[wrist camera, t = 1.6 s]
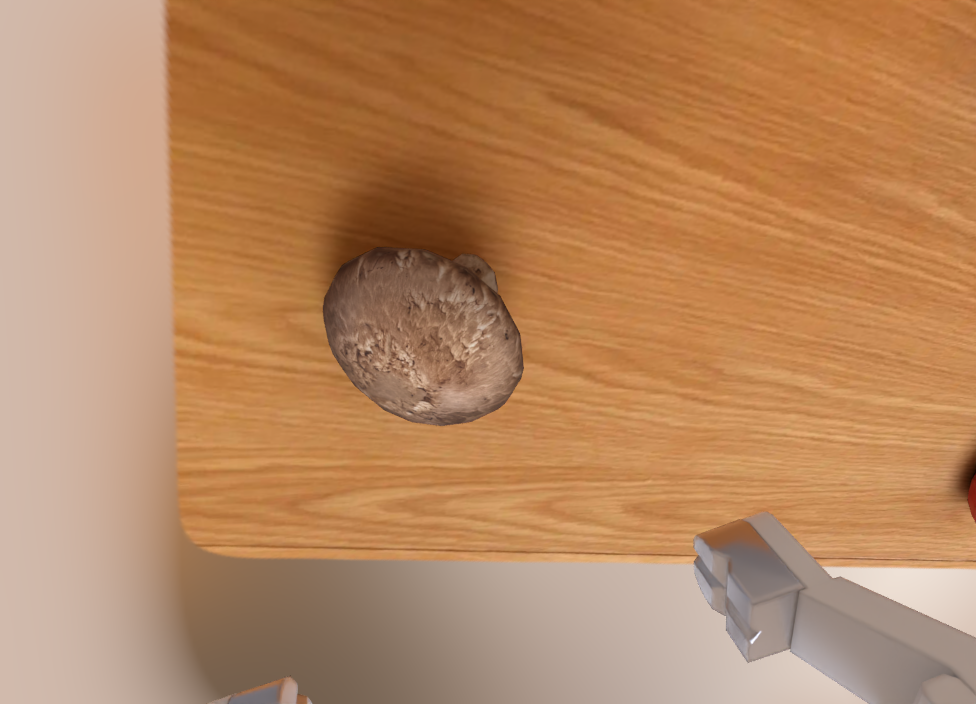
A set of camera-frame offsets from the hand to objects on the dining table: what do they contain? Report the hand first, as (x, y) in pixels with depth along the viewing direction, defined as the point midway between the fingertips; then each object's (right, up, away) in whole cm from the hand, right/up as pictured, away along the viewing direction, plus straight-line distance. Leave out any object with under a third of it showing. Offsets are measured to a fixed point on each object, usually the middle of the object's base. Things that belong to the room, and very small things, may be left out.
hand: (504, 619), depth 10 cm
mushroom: (-4, +7, +13) cm, 15 cm away
